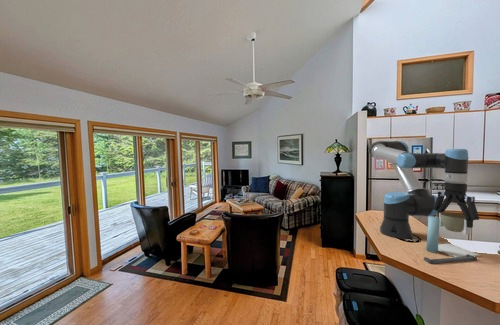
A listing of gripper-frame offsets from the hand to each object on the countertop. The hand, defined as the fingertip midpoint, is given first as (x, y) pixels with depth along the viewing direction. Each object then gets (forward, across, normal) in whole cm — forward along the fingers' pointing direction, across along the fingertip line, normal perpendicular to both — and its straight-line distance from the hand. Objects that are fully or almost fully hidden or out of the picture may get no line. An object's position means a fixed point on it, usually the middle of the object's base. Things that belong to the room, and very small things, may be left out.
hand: (453, 229), depth 97 cm
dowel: (+10, -1, -10) cm, 14 cm away
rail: (+10, +8, -10) cm, 17 cm away
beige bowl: (0, 0, 0) cm, 0 cm away
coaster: (+10, 0, 0) cm, 10 cm away
